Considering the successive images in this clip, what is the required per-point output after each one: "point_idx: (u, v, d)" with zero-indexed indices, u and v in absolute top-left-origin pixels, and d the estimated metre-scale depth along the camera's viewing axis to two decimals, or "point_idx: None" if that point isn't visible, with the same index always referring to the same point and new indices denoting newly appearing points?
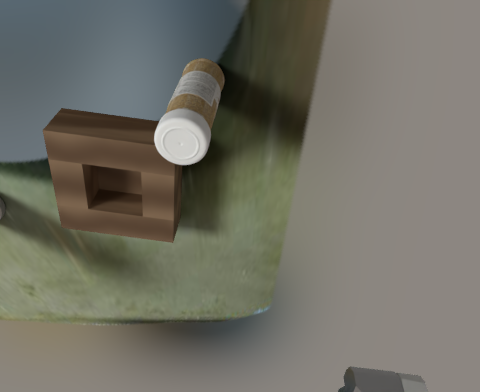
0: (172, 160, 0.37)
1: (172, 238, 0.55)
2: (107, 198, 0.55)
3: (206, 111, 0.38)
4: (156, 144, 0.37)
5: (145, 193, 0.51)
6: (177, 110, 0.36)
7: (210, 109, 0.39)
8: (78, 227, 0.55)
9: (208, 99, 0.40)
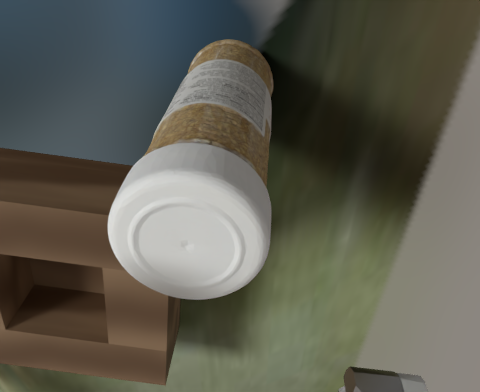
0: (163, 288, 0.13)
1: (164, 378, 0.30)
2: (46, 304, 0.30)
3: (256, 149, 0.14)
4: (114, 247, 0.12)
5: (112, 306, 0.26)
6: (178, 147, 0.12)
7: (262, 144, 0.15)
8: None
9: (256, 120, 0.16)
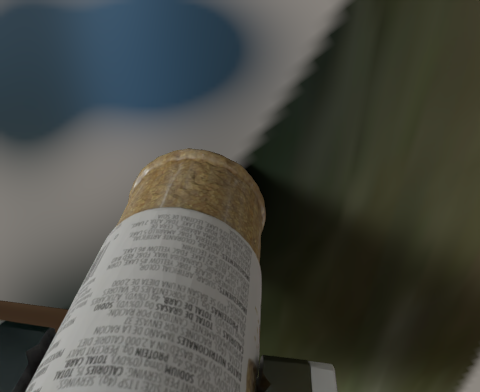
0: None
1: None
2: None
3: None
4: None
5: None
6: None
7: None
8: None
9: None
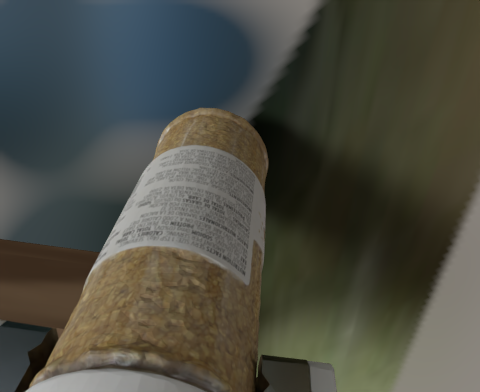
0: None
1: None
2: None
3: (232, 327, 0.09)
4: None
5: None
6: (77, 386, 0.07)
7: (246, 301, 0.10)
8: None
9: (236, 258, 0.10)
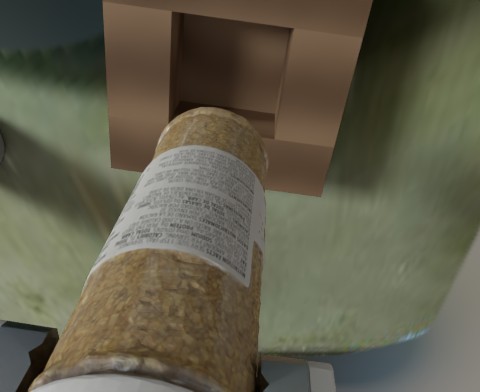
0: None
1: (321, 188, 0.29)
2: None
3: (232, 330, 0.09)
4: None
5: (291, 84, 0.25)
6: None
7: (246, 303, 0.10)
8: (143, 166, 0.29)
9: (236, 260, 0.10)
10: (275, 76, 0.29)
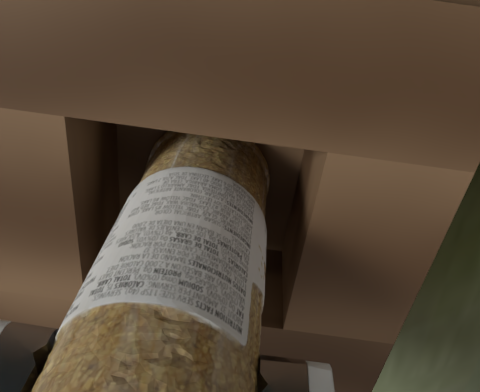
0: None
1: None
2: None
3: None
4: None
5: (317, 248, 0.13)
6: None
7: (242, 366, 0.08)
8: None
9: (231, 312, 0.09)
10: (283, 196, 0.17)
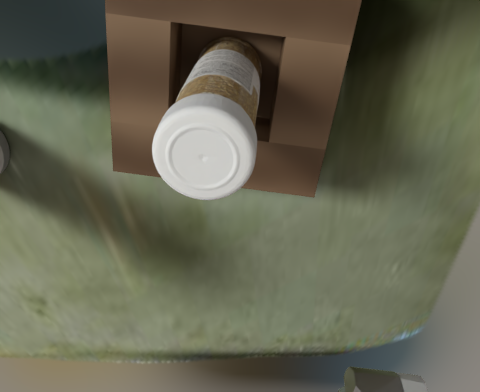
0: (189, 192, 0.20)
1: (314, 188, 0.30)
2: None
3: (245, 100, 0.21)
4: (157, 164, 0.19)
5: (284, 90, 0.27)
6: (192, 96, 0.19)
7: (250, 99, 0.22)
8: (143, 169, 0.30)
9: (245, 84, 0.23)
10: (269, 82, 0.31)
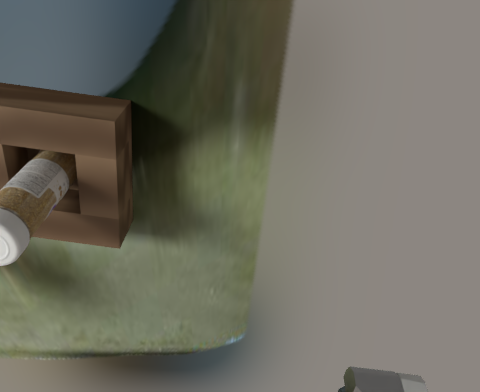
0: None
1: (118, 243, 0.45)
2: None
3: (27, 205, 0.36)
4: None
5: (82, 183, 0.41)
6: None
7: (36, 201, 0.37)
8: None
9: (36, 191, 0.37)
10: None
